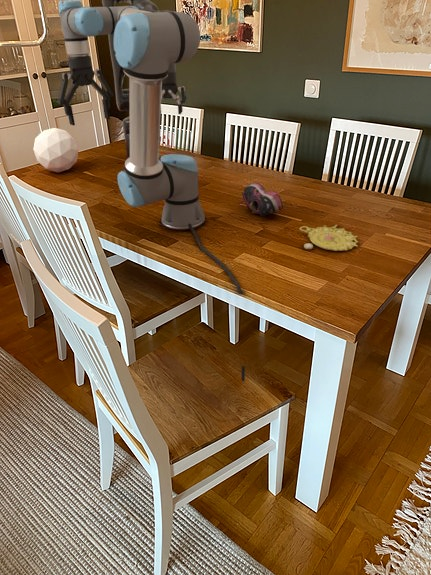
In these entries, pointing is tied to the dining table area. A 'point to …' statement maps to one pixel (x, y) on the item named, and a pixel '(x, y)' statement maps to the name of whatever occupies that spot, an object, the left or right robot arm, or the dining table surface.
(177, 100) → the left robot arm
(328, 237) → the decorative object
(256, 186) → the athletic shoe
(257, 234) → the dining table surface
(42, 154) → the sphere
